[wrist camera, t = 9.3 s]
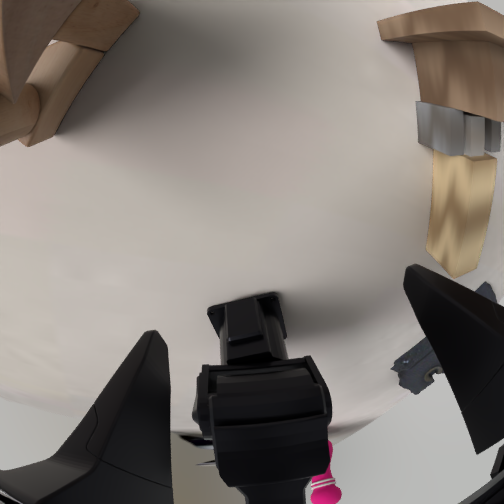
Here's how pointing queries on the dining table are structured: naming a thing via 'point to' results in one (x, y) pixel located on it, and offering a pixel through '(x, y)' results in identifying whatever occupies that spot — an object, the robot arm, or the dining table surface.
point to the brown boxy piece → (454, 70)
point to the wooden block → (51, 59)
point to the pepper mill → (325, 486)
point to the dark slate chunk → (425, 358)
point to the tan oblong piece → (461, 201)
